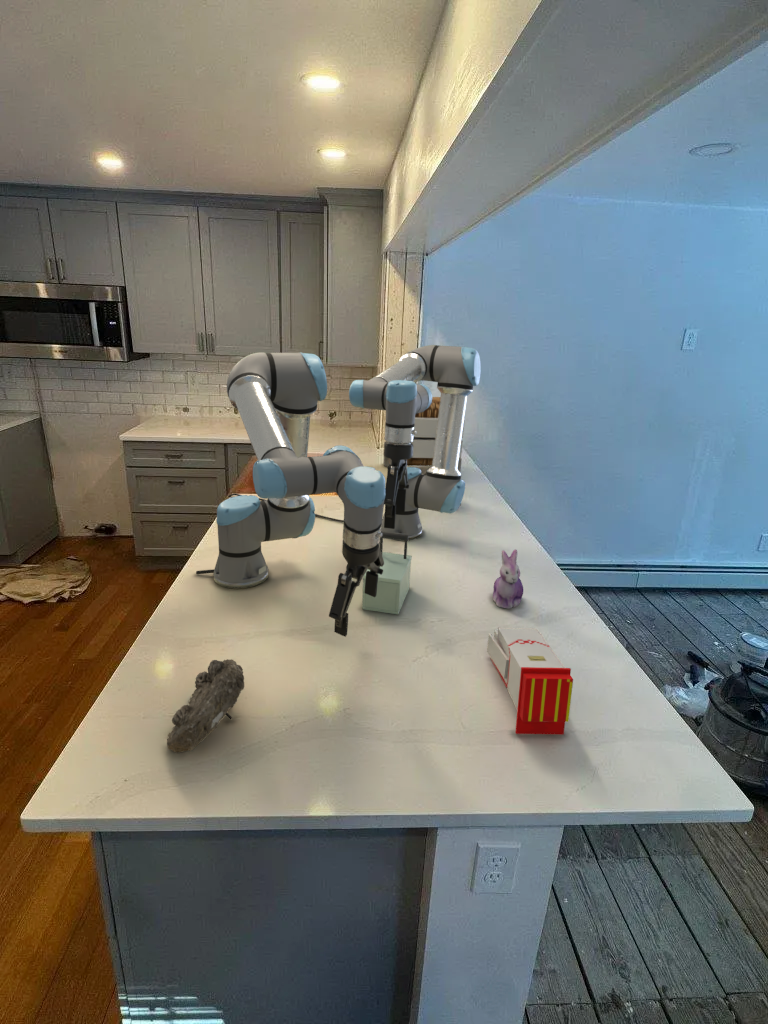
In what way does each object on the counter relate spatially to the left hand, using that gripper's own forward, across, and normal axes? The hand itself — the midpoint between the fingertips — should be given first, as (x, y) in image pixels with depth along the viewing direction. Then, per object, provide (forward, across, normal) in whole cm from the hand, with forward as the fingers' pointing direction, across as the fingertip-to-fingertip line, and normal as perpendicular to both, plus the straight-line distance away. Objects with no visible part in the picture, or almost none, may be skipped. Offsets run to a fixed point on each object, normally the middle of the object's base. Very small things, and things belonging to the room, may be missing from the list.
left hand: (356, 613), depth 126 cm
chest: (+18, +24, +3) cm, 30 cm away
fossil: (+5, -34, +12) cm, 36 cm away
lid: (+9, +27, +4) cm, 28 cm away
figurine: (+17, +39, -27) cm, 50 cm away
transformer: (+54, +141, +40) cm, 156 cm away
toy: (+6, +4, -38) cm, 39 cm away
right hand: (-1, +35, +7) cm, 35 cm away
